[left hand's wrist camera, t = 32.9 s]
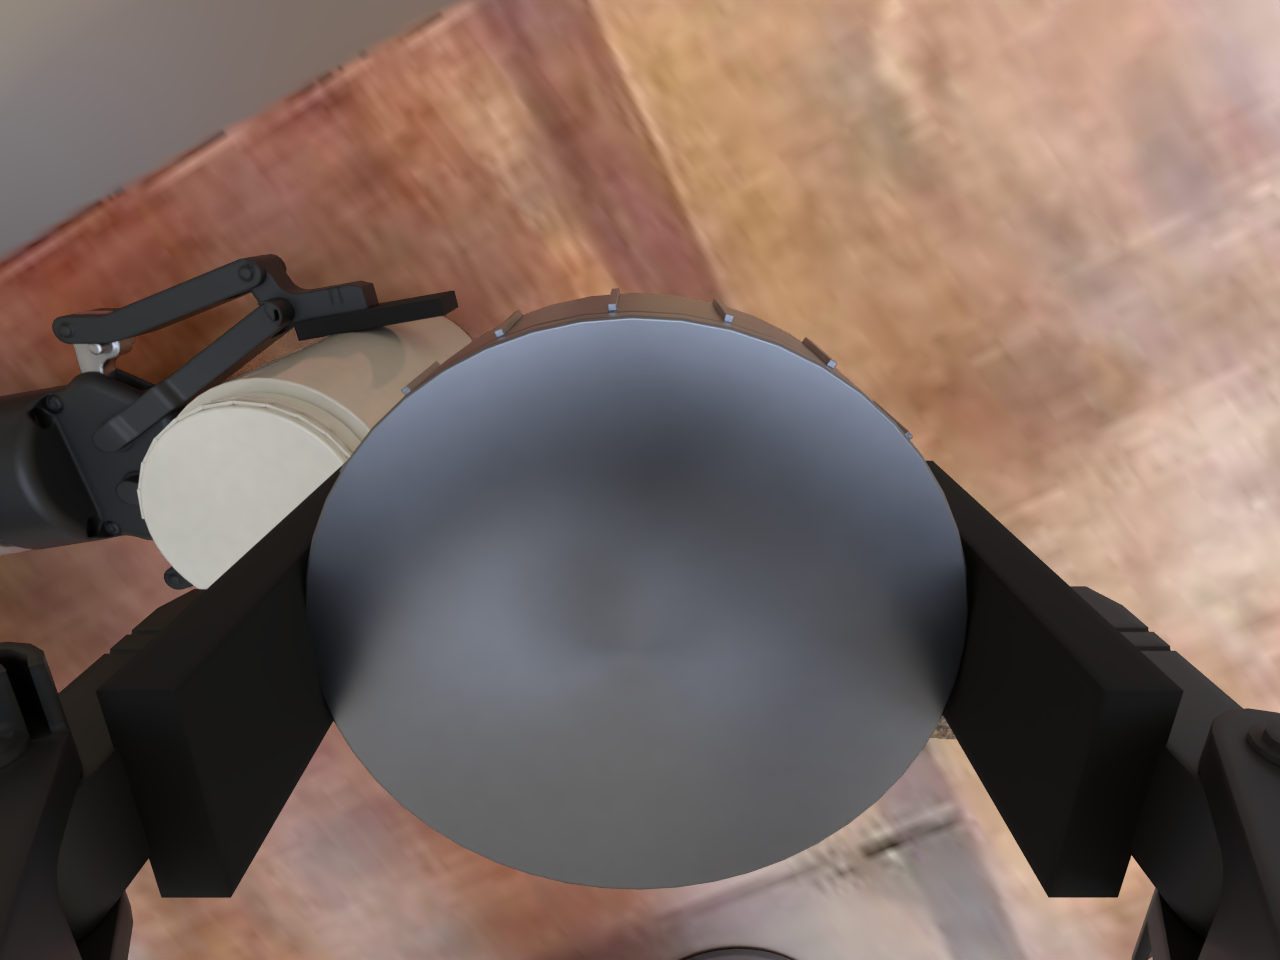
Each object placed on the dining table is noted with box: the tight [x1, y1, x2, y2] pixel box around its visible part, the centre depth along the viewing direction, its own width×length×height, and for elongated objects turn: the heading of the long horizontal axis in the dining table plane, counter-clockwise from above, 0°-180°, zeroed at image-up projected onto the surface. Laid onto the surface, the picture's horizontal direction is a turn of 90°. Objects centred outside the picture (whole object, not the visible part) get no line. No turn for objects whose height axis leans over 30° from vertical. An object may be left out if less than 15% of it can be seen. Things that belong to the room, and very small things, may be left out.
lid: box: [305, 289, 969, 889], centre depth 11 cm, size 9×9×2 cm
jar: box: [137, 316, 472, 589], centre depth 32 cm, size 8×8×18 cm
